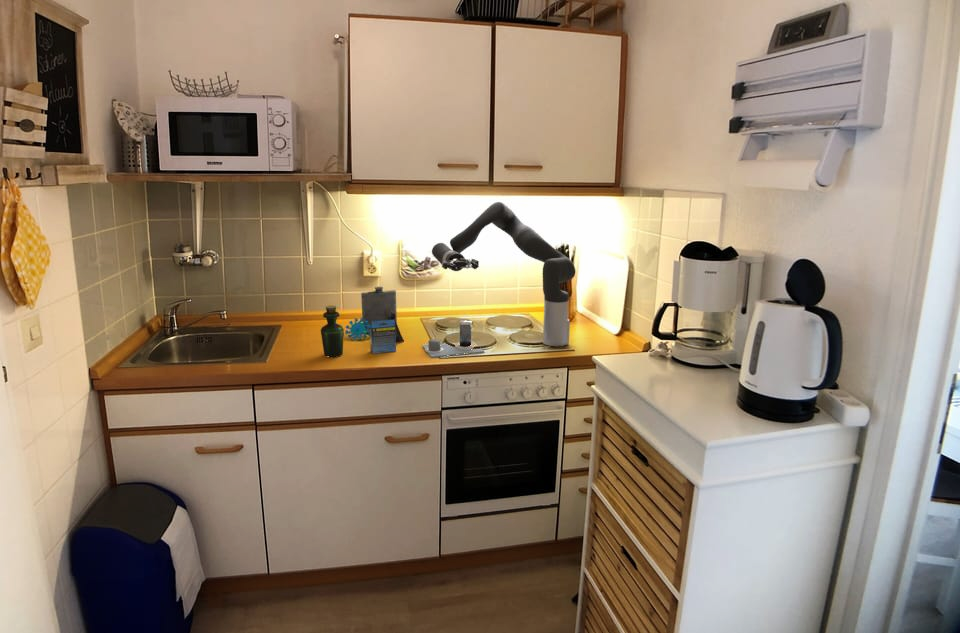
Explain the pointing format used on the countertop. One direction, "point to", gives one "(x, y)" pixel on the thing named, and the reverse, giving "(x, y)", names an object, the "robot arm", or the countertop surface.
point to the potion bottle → (332, 333)
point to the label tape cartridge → (382, 336)
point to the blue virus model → (358, 329)
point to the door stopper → (397, 331)
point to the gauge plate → (447, 349)
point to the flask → (377, 305)
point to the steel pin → (465, 332)
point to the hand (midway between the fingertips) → (465, 267)
